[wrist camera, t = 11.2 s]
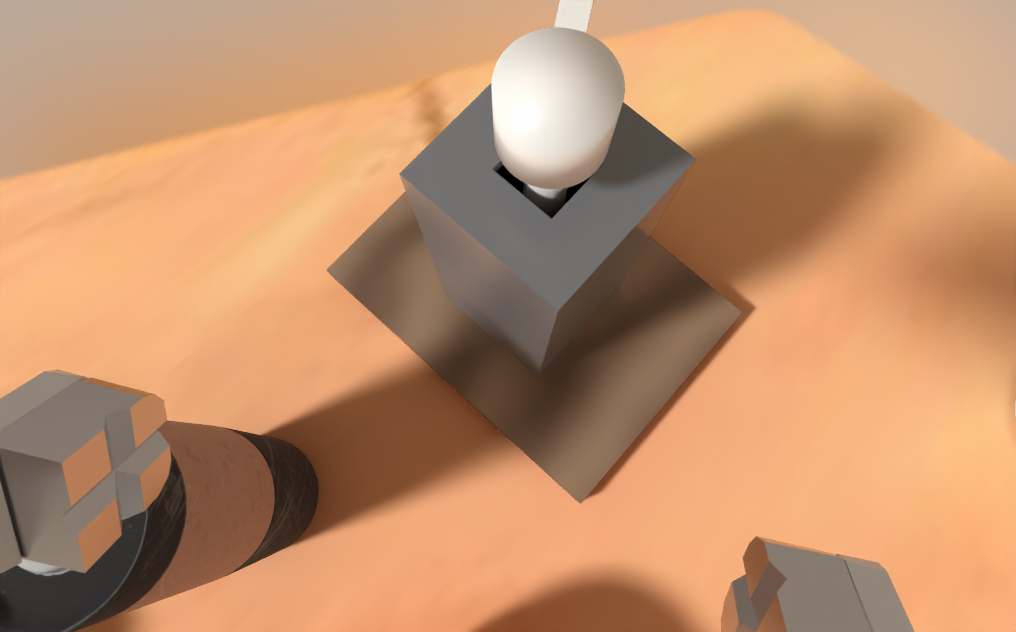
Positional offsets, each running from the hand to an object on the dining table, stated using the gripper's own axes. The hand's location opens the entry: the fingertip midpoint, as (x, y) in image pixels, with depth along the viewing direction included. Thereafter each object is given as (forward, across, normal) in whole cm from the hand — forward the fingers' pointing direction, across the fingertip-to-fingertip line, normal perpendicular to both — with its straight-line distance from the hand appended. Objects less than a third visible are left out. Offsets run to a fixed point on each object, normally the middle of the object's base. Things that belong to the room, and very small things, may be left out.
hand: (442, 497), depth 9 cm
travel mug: (+22, +15, +25) cm, 36 cm away
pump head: (+25, +1, +4) cm, 25 cm away
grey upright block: (+32, +1, +11) cm, 34 cm away
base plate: (+33, +1, +12) cm, 35 cm away
